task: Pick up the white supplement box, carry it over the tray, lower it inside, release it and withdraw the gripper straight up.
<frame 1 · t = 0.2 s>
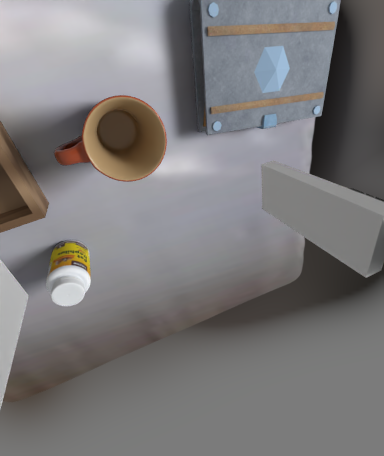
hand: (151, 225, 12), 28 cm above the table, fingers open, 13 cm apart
book: (255, 67, 39), on the table
supplement bottle: (70, 252, 41), on the table
mug: (104, 132, 35), on the table
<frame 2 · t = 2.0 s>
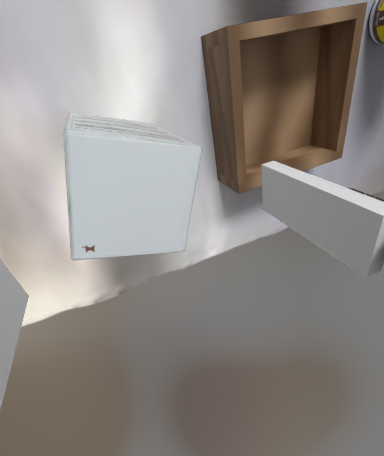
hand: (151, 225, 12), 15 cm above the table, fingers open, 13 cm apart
supplement box: (111, 155, 25), on the table
tray: (266, 103, 28), on the table
supplement bottle: (383, 15, 29), on the table
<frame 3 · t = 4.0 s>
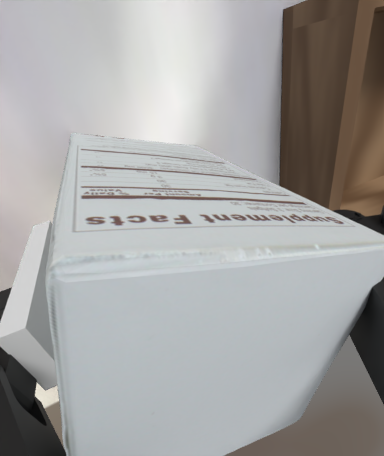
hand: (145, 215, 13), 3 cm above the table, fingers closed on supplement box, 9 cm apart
supplement box: (135, 194, 16), on the table, touching gripper
tray: (356, 113, 19), on the table
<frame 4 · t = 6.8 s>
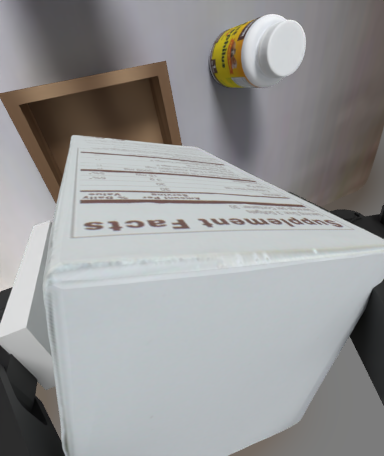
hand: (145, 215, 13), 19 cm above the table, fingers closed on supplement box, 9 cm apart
supplement box: (135, 196, 16), point 16 cm above the table, touching gripper
tray: (110, 147, 29), on the table
supplement bottle: (227, 60, 29), on the table
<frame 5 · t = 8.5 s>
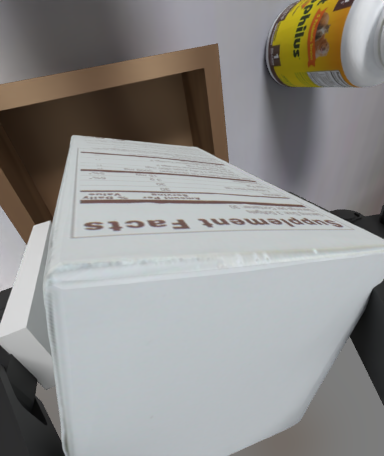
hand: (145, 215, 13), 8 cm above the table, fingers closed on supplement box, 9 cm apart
supplement box: (135, 196, 16), point 5 cm above the table, touching gripper
tray: (122, 173, 20), on the table
supplement bottle: (288, 48, 21), on the table
when the fingers open (6 cm above the table, at t = 9.9 s): supplement box drops 2 cm, resting on tray.
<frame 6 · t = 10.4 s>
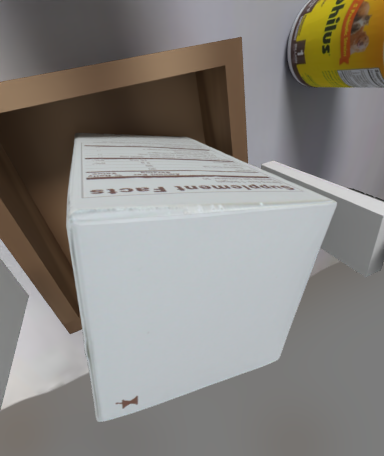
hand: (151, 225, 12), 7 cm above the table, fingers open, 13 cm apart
supplement box: (135, 185, 18), point 1 cm above the table, touching tray
tray: (129, 182, 18), on the table
supplement bottle: (311, 45, 19), on the table
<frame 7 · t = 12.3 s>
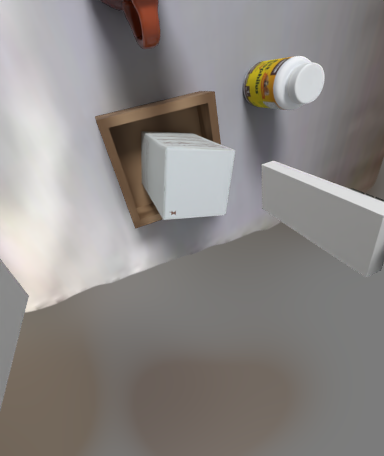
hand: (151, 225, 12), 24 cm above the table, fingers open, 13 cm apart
supplement box: (166, 157, 35), point 1 cm above the table, touching tray
tray: (162, 156, 36), on the table
supplement bottle: (257, 85, 36), on the table
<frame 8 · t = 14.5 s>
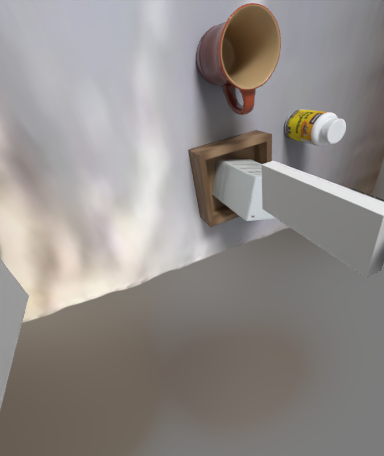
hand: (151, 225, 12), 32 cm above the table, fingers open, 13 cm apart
supplement box: (229, 176, 49), point 1 cm above the table, touching tray
tray: (226, 175, 50), on the table
supplement bottle: (293, 124, 50), on the table
mug: (215, 70, 40), on the table
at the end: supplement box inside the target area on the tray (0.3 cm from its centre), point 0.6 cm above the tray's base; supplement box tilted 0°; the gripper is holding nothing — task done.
